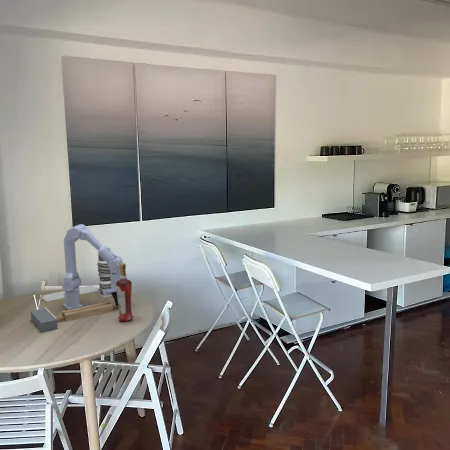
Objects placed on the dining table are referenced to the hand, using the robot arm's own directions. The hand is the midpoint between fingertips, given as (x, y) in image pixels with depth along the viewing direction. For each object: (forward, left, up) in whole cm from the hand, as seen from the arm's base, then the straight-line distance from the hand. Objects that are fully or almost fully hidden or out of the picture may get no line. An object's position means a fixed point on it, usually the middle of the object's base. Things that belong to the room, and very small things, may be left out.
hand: (117, 305), depth 246 cm
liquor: (+19, -4, -2) cm, 19 cm away
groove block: (0, -37, -1) cm, 37 cm away
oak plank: (0, -18, -1) cm, 18 cm away
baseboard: (-39, -13, -2) cm, 41 cm away
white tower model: (-25, +4, -2) cm, 25 cm away
